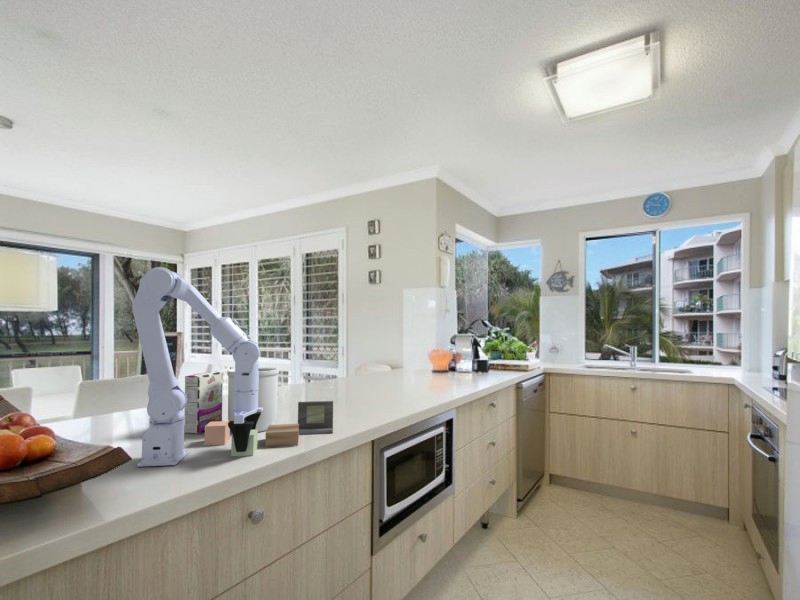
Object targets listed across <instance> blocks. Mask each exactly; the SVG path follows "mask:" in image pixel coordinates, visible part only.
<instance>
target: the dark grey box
mask: <svg viewBox="0 0 800 600" xmlns="http://www.w3.org/2000/svg"><path fill="white" fill-rule="evenodd" d="M333 418H334V400H324V401H323V400H321V401H320V400H318V401H317V400H316V401H298V403H297V424H299V435H323V434H325V435H326V434H333V433H334V419H333Z"/></svg>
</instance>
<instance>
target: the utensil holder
mask: <svg viewBox="0 0 800 600" xmlns="http://www.w3.org/2000/svg"><path fill="white" fill-rule="evenodd" d="M226 371H227V372H226V375H227V376H228V377H227V381H228V382H227V419H228V420H227V421H234V415H233V413H232V409H233V395H234V372H235V368H231V369H230V368H229V369H227V370H226ZM258 371H259V388H258V407H263V411H262V412H261V415H260V417H259V419H258V422H257V425H256V429H258V433H260V432H261V433H262V432H266V431H267V428H268V426H269V425H278V424H277V422H278V421H277V420H278V419H277V418H278V397H279V396H278V391H279V373H280V368H279V367H273V366H259V367H258ZM256 429H255V430H256ZM230 432H231V430H230Z"/></svg>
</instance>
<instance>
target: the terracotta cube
mask: <svg viewBox="0 0 800 600" xmlns="http://www.w3.org/2000/svg"><path fill="white" fill-rule="evenodd" d="M228 422H229V421H228V420H227V421H226V420H225V421H223V420H222V421H218V422H210V423H208V424H207V425H206V426H205V432H204V439H203V440H204V441H203V443H204V444H203V445H204V446H205V447H207V446H210V445H212V446H225V445H226V444H227V443H228V442H229V441H230V440H229V439H230V438H231V437H230V435H231V431H230V429H229V427H228ZM228 440H229V441H228Z"/></svg>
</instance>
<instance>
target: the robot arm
mask: <svg viewBox="0 0 800 600" xmlns="http://www.w3.org/2000/svg"><path fill="white" fill-rule="evenodd" d="M138 285H139V286H138V289H137V292H136V295H135V297H134V299H133V301H132V305H131V310H132V314H133V318H134V322H135V326H136V327H135V328H136V330H137V335H138V339H139V344H140V348H141V351H142V356H143V360H144V364H145V368H146V371H147V376H148V381H149V384H148V389H147V395H148V403H147V406H146V412H147V415H148V416H149V421H148V423H149V424H148V428H147V430H146V431H144V433H143V436H142V441H141V442H142V443H141V444H142V445H141V461H140V462H138V463H137V464H136V467H157V466H159V467H160V466H175V465H177V464H178V463H180V462H181V460H182V459H183V458H185V457H186V456H187V455H188V454H190V453H191V450H190V449H185V448H184V447H185V433H184V426H185V413H184V412H183V409H184V410H185V406H186V403H187V396H186V394H185V390H183V389H182V388H181V385H180V382H179V380H178V379H177V377H176V375H175V373H174V369H173V366H172V361H171V356H170V352H169V347H168V343H167V341H166V336H165V331H164V328H163V324H162V319H161V315H160V311H161V310H162V308H164V306H165V305H166V304H167V302H169V301H170V300H172V299H173V298H174V299H177V300H180V301H183V302H185V303H186V304H187V305H189V307H191V309H193V310H194V312H196V314H198V315H199V316H200V317H201V318H202V319H203V320H204V321H205V322H206V323H208V324H209V325H210V335H211V336H212V337H214V339H215V340H216V341H217V342H218V343H219V344H220V345H221V346H222V347H223V348H224V349H225V350H226V351H227V352H228V353H232V358H233V361H234V362H235V363H234V369H235V372H234V395H233V409H232V413H233V415H234V421H229V422H228V427H229V429H230V430H231V431H230V433H231V436H232V435H233V438H234V443H235V448H236V452H246V450H247V446H248V440H249V435H250V431H251V430H255V429H256V425H257V422H258V419H259V417H260V415H261V412H262V411H263V407H258V388H259V371H258V367H260V366H259V365H260V364H259V357H260V355H261V351H260V347H259V345H258V343H257V342H256V341H255V340H251V339H252V336H251V335H250V334H248V335H247V334H246V332H244V331H243V329H241V327H240V326H238V324H239V322H238V321H237V320H236V319H232V318H231V317H229V316H221V315H220V314H219V313H218V311H217V310H216V309H215V308H214V306H212V305H211V304H210V302H208V300H207V299H206V298H205V297H204V296H203V295H202V294H201V293H200V291H199V290H198V289H197V288H196V287H194V285H192V284H191V283H190V282H189V281H187V280H186V279H184V278H183V277H182V276H181V275H180V274H179V273H177V272H175V271H171V270H170V269H168V268H166V267H163V266H157V267H152V268H151V269H149V270H147V272H146V273H145V274H144V275H143V276H142V277H141V278H139V284H138Z"/></svg>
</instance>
